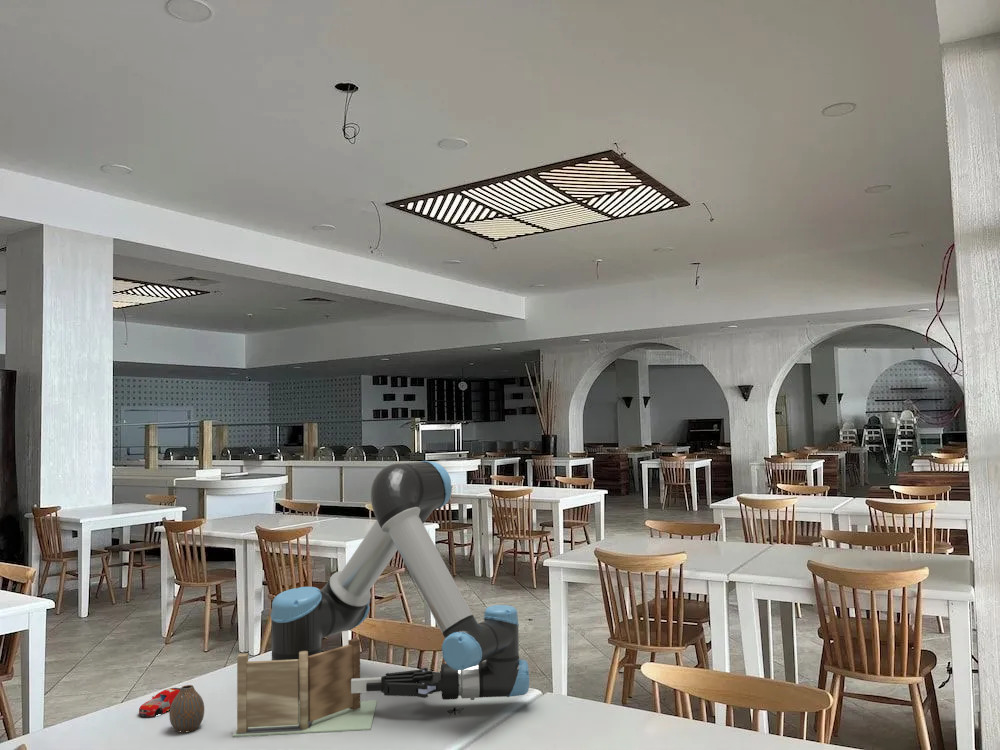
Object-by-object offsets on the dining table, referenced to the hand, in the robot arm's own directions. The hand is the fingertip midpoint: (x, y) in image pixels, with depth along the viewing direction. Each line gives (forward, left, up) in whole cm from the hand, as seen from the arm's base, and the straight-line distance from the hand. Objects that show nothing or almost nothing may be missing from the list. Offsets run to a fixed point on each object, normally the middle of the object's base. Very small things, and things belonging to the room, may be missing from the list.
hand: (351, 685), depth 172 cm
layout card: (0, -9, -6) cm, 11 cm away
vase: (+3, -34, -7) cm, 35 cm away
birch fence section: (+7, -15, -6) cm, 18 cm away
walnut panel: (+1, -4, -6) cm, 7 cm away
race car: (-11, -43, -7) cm, 45 cm away
